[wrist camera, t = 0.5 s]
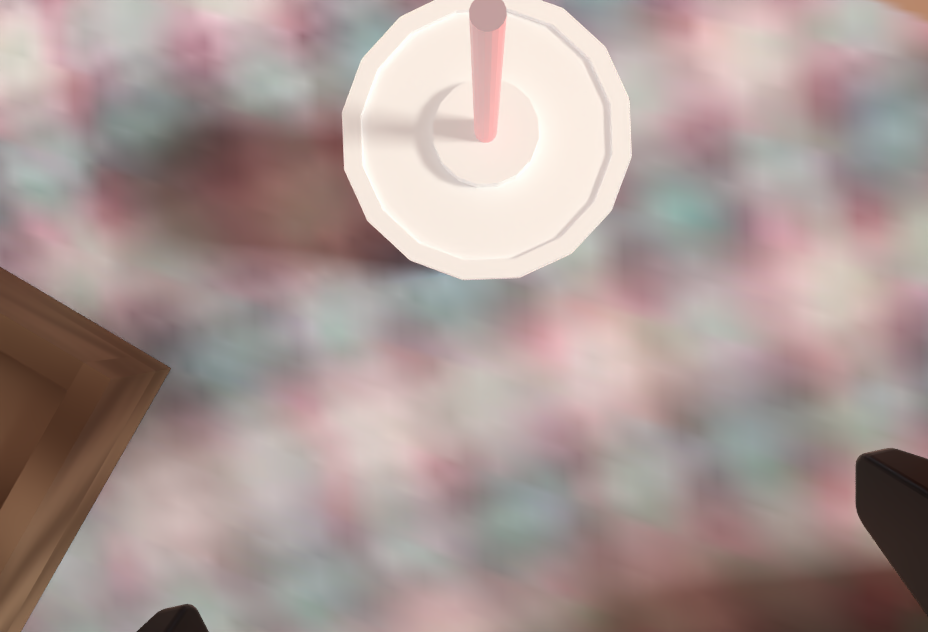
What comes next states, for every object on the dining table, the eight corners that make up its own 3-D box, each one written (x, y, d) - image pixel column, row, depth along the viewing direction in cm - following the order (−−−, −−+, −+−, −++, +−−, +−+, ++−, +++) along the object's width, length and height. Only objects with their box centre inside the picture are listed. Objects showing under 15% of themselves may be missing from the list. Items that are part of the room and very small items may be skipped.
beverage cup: (465, 327, 21) (432, 356, 7) (366, 190, 21) (148, -37, 7) (604, 227, 21) (839, 63, 7) (503, 90, 21) (543, -336, 7)
